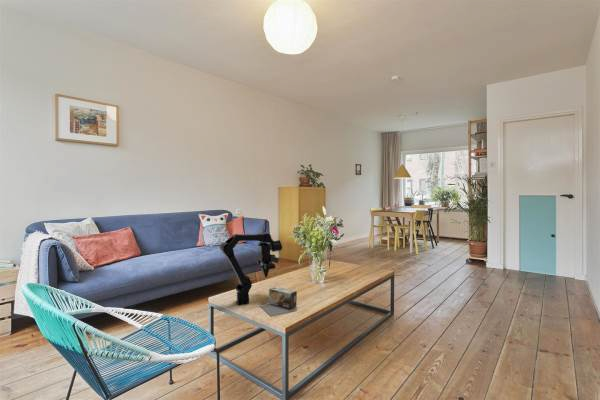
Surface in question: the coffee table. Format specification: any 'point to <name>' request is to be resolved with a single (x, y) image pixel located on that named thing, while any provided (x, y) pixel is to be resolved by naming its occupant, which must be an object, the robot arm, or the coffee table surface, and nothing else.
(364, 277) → the coffee table surface
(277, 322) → the coffee table surface
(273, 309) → the mat
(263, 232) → the robot arm
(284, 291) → the coffee box
